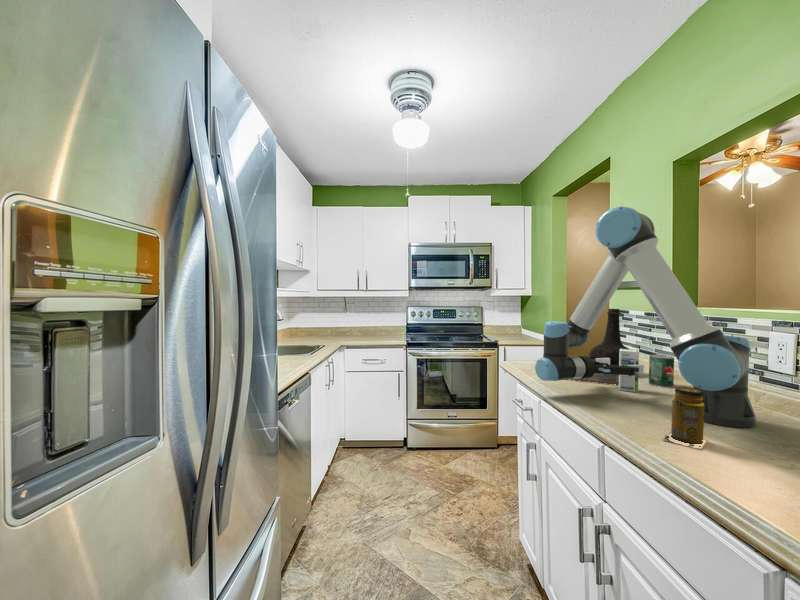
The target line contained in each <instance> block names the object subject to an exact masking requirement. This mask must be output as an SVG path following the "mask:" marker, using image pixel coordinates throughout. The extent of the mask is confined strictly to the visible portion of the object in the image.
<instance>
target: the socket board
mask: <svg viewBox="0 0 800 600" xmlns="http://www.w3.org/2000/svg"><path fill="white" fill-rule="evenodd" d="M573 380H581V381H580V382H582V381H590V382H589V383H591V382H598V383H597V384H600V383H607V384H606V385H609V384H616V385H615V386H618V385H619V375H615V374H606V375H605V374H604V373H599V374H596V373H595V374H594V375H593V376H592V377H591V378H586V379H573Z"/></svg>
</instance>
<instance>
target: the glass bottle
mask: <svg viewBox="0 0 800 600" xmlns="http://www.w3.org/2000/svg"><path fill="white" fill-rule="evenodd" d="M606 314H607V323H606V329H605V334H604V336H603V340H602V342H601V343H599V344H597V345H595V346H593V347H592V348H591V349H590V351H589V352H588V357H589V358H591V356H593V357H594V360H595V358H610V365H619V353H620V349H630V348H628V347H627V346H625V345H624V344H623V343H622V340H621V331H620V315H623V313H621V310H620V309H619V308H608V309H607V312H606Z"/></svg>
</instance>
